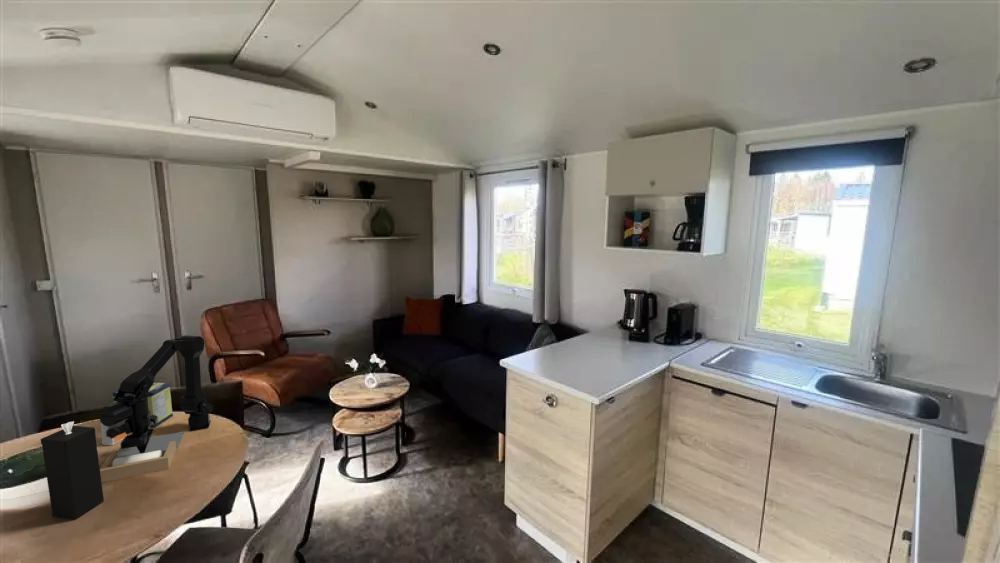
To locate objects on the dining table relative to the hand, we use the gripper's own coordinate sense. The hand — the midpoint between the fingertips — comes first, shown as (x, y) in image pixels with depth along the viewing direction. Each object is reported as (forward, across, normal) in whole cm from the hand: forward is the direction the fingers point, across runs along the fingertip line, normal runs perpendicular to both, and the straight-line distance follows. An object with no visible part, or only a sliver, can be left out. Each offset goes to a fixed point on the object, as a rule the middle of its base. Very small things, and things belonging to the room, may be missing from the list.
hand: (142, 452), depth 145 cm
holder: (+3, -3, 0) cm, 5 cm away
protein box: (+3, -34, -7) cm, 35 cm away
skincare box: (+3, -20, -13) cm, 25 cm away
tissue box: (+3, +22, -10) cm, 25 cm away
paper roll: (0, +6, 0) cm, 6 cm away
